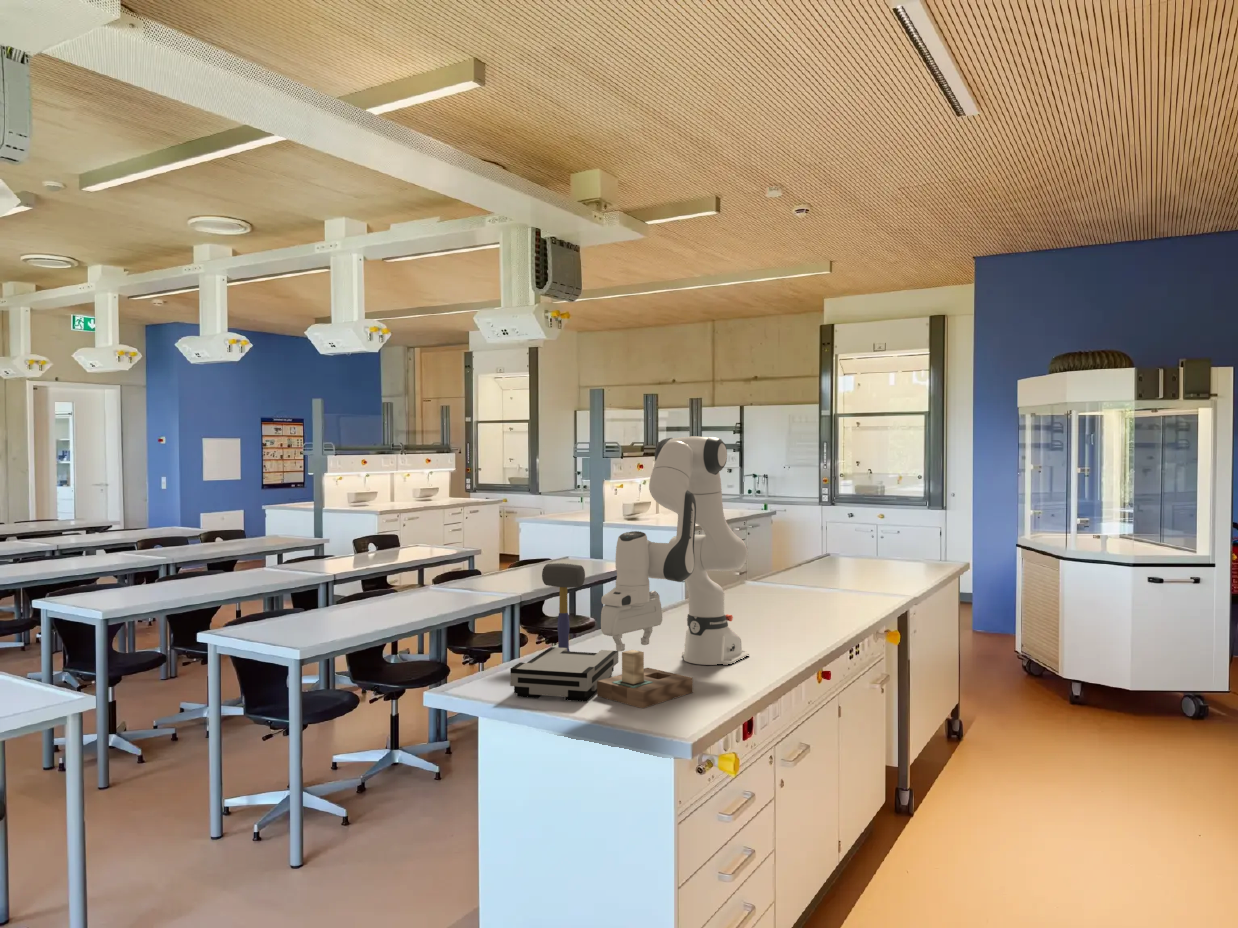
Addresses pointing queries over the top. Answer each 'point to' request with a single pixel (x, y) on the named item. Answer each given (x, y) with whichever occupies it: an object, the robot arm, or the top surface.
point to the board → (646, 688)
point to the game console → (563, 674)
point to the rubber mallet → (563, 593)
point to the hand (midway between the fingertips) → (633, 647)
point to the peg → (632, 667)
